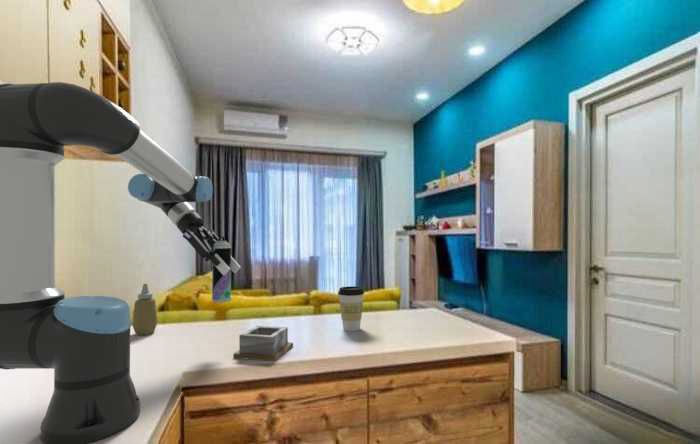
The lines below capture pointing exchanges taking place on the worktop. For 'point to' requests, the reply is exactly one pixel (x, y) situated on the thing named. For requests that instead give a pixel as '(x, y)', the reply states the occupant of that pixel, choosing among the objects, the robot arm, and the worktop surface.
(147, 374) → the worktop surface
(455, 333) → the worktop surface
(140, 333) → the squeeze bottle
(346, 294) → the coffee cup
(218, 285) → the spray can
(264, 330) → the socket stand
